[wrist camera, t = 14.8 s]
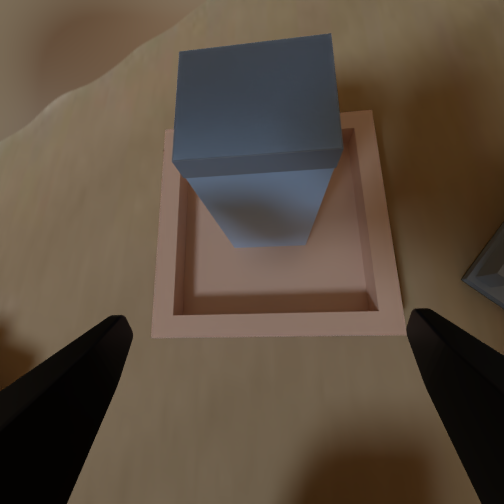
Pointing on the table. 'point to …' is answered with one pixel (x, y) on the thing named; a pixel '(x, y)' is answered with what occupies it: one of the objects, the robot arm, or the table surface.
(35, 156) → the table surface
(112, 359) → the robot arm
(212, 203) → the tall square pillar
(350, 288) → the tray
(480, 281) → the bay
